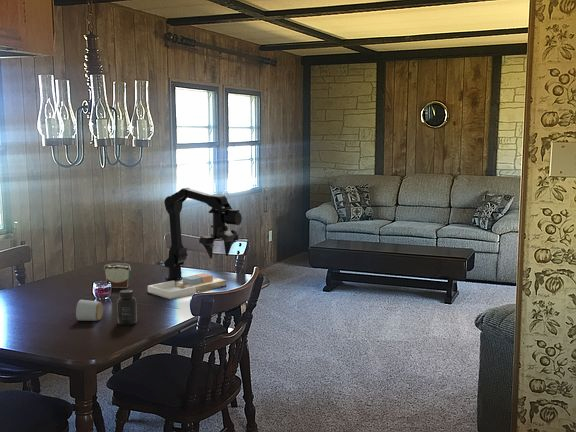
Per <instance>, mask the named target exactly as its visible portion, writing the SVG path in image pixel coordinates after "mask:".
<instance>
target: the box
mask: <svg viewBox="0 0 576 432" xmlns="http://www.w3.org/2000/svg"><path fill="white" fill-rule="evenodd" d="M175 282H176V280H169V281H165V282H160V283H155V284H149V285H147V293H148V294H151V295H155V296H159V297H162V298H165V299H167V300H174V299H177V298H181V297H185V296H190V295H195V294H197V292H196V286H193V287H188V288H184V289H183V288H179V287H175ZM194 293H195V294H194Z"/></svg>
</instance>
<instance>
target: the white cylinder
mask: <svg viewBox="0 0 576 432" xmlns="http://www.w3.org/2000/svg"><path fill="white" fill-rule="evenodd" d="M103 312H104V305H103V303H102V302H101V301H98V300H88V299H87V300H86V299H79V300H78V302H77V303H76V308H75V316H76V320H77V321H82V322H84V321H85V322H88V321H90V322H96V321H97V322H98V321H100V320H101V318H102V317H103Z"/></svg>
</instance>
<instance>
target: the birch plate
mask: <svg viewBox="0 0 576 432" xmlns="http://www.w3.org/2000/svg"><path fill="white" fill-rule="evenodd" d="M225 285H226V286H227V280H226V279H223V278H218V277H214V276H213V281H208V282H204V283H199V284H194V285H188V284H185V283H183V279H181V280H176V281H175V287H179V288H183V289H184V288H188V287H193V286H196V293H199V292H198V291H201V292H204V291H208V290H213V288H214V289H218V288H222V287H221V286H223V287H226V286H225ZM217 287H218V288H217Z"/></svg>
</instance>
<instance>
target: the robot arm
mask: <svg viewBox="0 0 576 432" xmlns="http://www.w3.org/2000/svg"><path fill="white" fill-rule="evenodd" d="M188 199H189V200H190V199H191V200H193V201H198V202H201V203H204V204H206V205H207V206H208V207H210V210H209V211H208V213H209V214H212V224H211V226H210V228H212V234H210V236H207V235H204V236H200V237H199V239H198V241H199V242H198V243H199V244H201V245H203V247H204V249H205V250H206V253H207V255H208V257H209V259H213V252H214V251H213V248H214V246H215V242H217V241H218V242H219V241H223V247H224V253H225V256H226V257H229V254H230V251H231V249H232V247H233V244H235V243H237V241H239V235H238V233H237V230H236V229H231V230H229V227H228V225H233V226H239V225H241V223H242V219H243V217H242V214H241V213H240V209H233V208H232V207H231V204H230V203H229V200H228V198H227V196H225V194H224V195H222V194H210V193H209V194H208V193H205V192H202V191H198V190H195V189H192V188H190V187H183V188H180V190H178V191H176V192H175V193H173V194H171V195H168V196H166V197H165V199H164V207H165V211H166V212H167V214H168V216H169V231H170V240H171V241H170V243H171V244H170V245H171V246H170V247H169V251H168V258H167V259H165V261H164V262H163V265H164V267H165V268H167V276H166V277H164V278H165V279H166V280H169V281H179V280H183V278H182V277H183V276H182V266H183V265H184V264H185V261H186V260H187V257H188V253H187V251H188V249H187V247H184V245H183V243H182V242H183V241H182V228H181V227H182V226H181V212H182V209H183V203H184V202H185V201H187V200H188Z"/></svg>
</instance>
